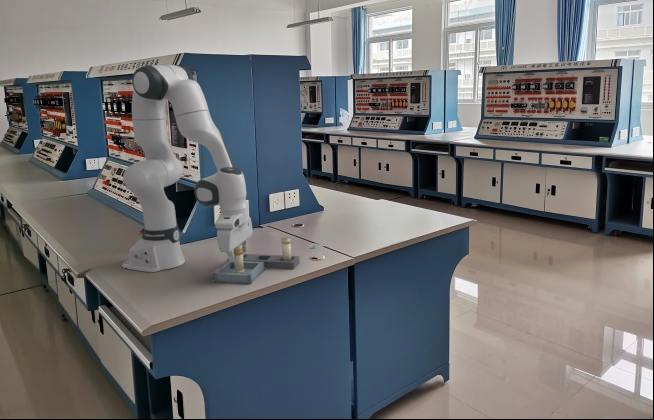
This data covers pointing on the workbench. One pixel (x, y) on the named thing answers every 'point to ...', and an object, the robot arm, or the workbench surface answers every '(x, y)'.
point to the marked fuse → (239, 260)
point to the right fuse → (286, 248)
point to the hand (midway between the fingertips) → (238, 256)
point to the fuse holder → (273, 261)
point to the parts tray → (229, 276)
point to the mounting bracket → (316, 246)
